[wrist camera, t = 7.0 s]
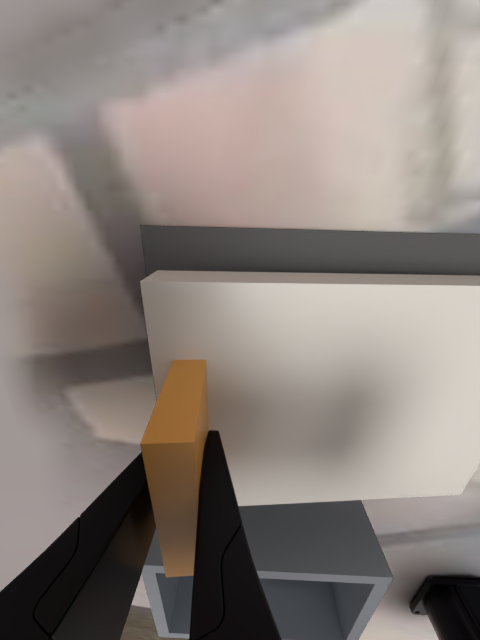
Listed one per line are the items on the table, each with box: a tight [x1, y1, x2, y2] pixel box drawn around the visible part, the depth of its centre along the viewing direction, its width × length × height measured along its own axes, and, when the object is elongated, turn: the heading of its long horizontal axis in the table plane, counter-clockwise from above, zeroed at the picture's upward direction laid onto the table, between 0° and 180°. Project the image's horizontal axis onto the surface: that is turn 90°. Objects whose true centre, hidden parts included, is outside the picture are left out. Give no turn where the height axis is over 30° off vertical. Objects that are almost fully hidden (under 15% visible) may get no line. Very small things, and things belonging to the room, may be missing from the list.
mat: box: [140, 225, 480, 277], centre depth 13 cm, size 15×19×1 cm
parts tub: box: [142, 500, 393, 640], centre depth 17 cm, size 10×14×5 cm
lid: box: [140, 270, 480, 577], centre depth 9 cm, size 12×16×6 cm
